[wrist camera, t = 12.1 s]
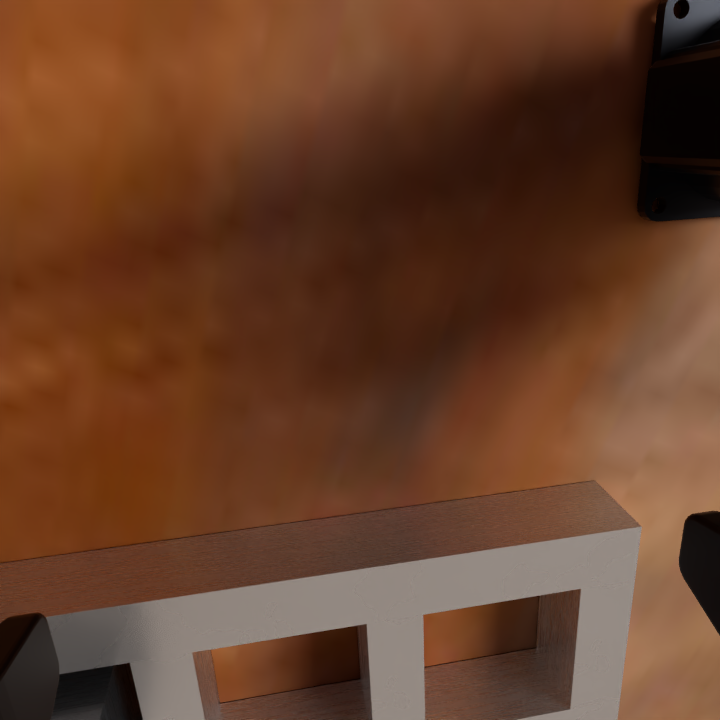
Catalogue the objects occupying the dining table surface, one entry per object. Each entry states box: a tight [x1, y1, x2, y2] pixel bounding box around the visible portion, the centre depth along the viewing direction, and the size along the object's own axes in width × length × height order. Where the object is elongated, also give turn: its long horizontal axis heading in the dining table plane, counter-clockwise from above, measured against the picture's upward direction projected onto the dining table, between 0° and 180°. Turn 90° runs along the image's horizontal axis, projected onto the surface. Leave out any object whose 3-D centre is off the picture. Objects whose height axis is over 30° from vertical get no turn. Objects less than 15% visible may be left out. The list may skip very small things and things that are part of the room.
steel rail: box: [0, 481, 641, 720], centre depth 22 cm, size 25×10×3 cm, turn 93°
